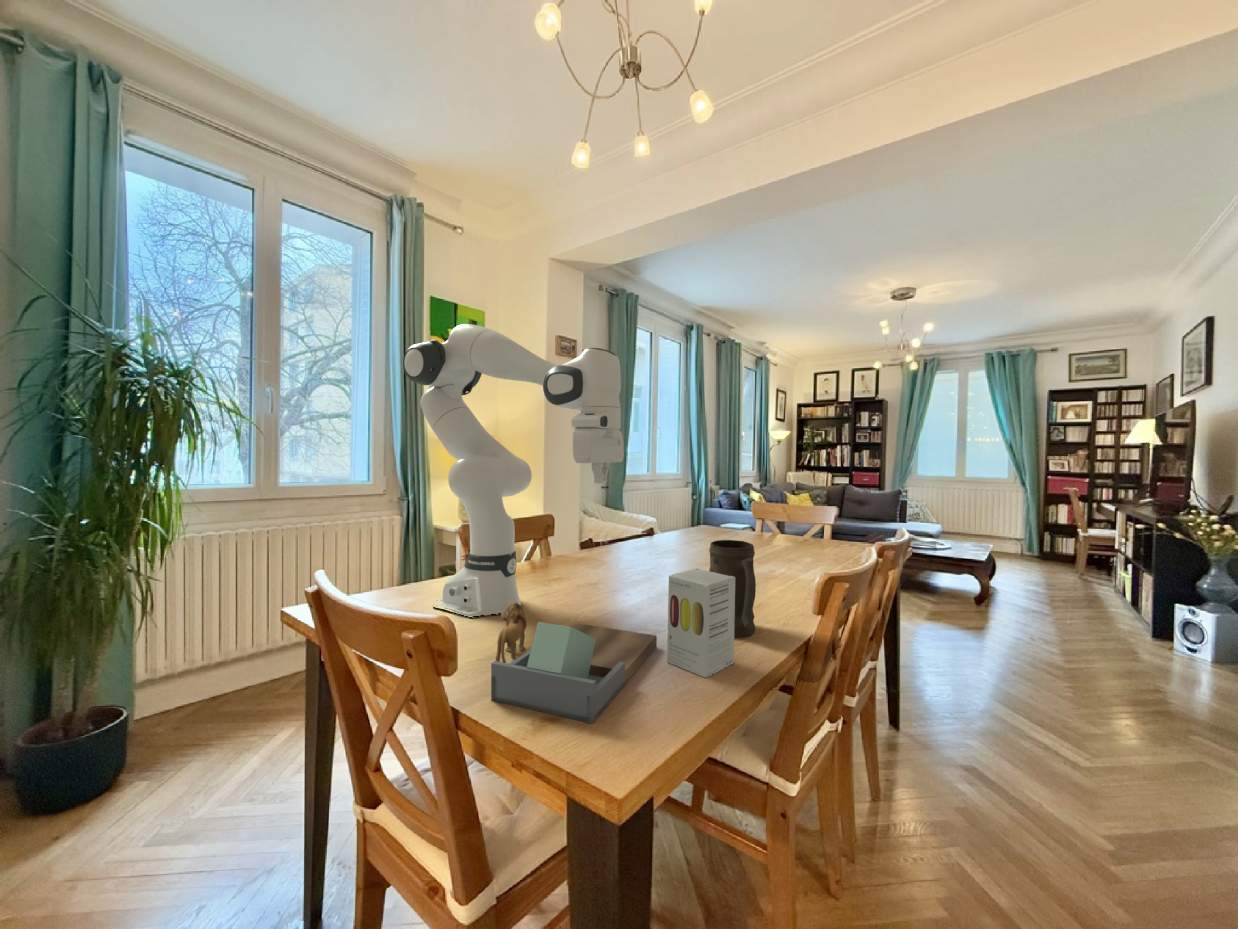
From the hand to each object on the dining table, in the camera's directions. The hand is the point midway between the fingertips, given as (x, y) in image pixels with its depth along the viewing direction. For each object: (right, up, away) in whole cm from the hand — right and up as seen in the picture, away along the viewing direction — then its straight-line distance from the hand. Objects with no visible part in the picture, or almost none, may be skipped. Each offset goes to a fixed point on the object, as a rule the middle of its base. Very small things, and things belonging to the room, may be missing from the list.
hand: (600, 483), depth 111 cm
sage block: (-3, -30, -24) cm, 38 cm away
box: (-6, -34, -29) cm, 45 cm away
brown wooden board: (0, -33, -14) cm, 36 cm away
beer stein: (+31, -34, -1) cm, 45 cm away
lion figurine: (-17, -34, -14) cm, 40 cm away
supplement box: (+20, -34, -17) cm, 43 cm away
